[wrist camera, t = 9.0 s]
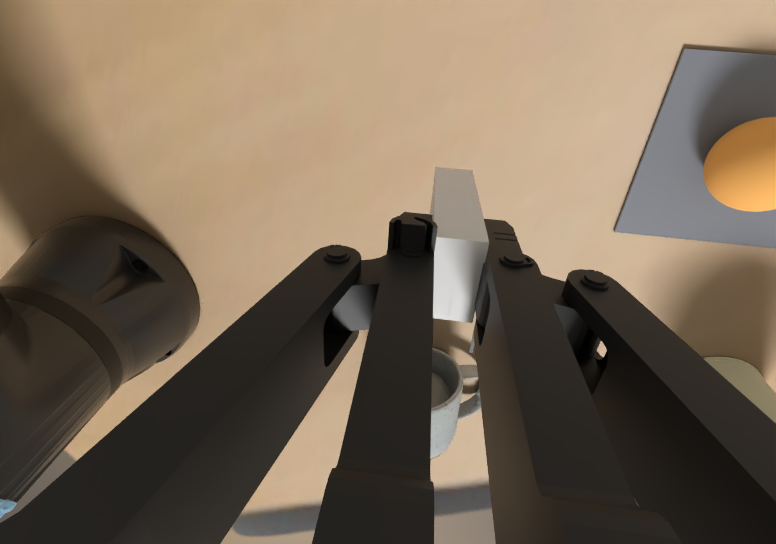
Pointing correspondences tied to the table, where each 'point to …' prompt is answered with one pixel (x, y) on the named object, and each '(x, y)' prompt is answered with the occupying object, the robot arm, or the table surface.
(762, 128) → the ball
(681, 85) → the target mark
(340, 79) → the table surface
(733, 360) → the can
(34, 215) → the table surface
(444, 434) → the ceramic mug
